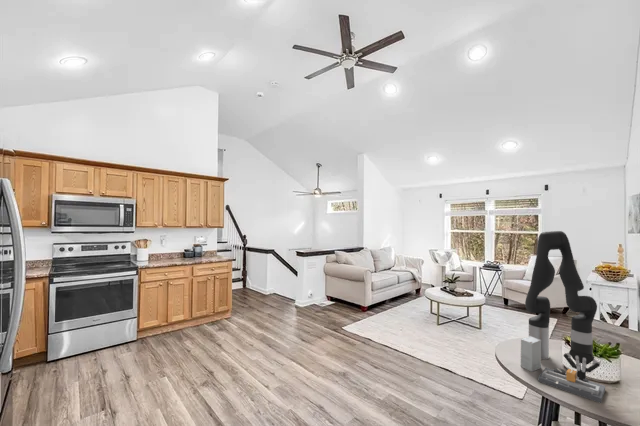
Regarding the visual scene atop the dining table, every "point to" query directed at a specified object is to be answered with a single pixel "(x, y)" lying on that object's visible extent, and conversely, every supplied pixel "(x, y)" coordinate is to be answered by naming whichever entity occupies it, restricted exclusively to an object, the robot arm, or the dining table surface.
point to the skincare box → (531, 353)
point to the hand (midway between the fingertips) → (581, 378)
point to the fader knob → (571, 375)
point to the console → (572, 384)
